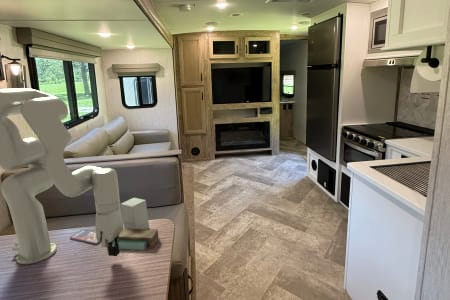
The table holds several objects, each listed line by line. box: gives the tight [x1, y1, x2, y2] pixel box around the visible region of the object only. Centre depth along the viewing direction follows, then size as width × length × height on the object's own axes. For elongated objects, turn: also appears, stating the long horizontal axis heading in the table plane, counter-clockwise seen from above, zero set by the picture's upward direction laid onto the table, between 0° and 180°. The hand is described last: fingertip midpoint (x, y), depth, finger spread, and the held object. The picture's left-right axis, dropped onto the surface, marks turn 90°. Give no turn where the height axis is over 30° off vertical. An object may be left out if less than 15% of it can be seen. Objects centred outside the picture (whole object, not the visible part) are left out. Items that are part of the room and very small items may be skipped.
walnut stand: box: [119, 228, 160, 249], centre depth 113 cm, size 18×6×4 cm, turn 81°
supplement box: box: [120, 197, 150, 229], centre depth 122 cm, size 7×7×13 cm
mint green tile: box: [118, 239, 149, 251], centre depth 112 cm, size 12×6×2 cm, turn 81°
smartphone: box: [69, 229, 102, 246], centre depth 119 cm, size 1×7×15 cm
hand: (114, 254), depth 102 cm, fingers closed
